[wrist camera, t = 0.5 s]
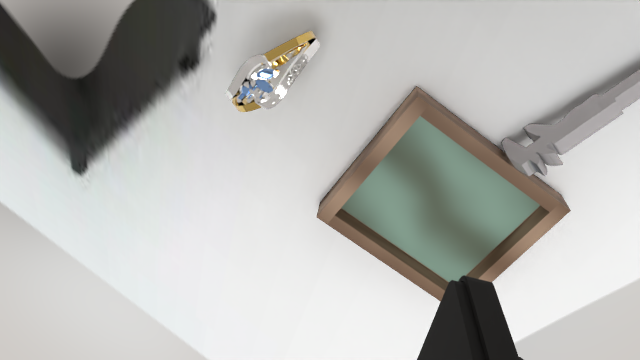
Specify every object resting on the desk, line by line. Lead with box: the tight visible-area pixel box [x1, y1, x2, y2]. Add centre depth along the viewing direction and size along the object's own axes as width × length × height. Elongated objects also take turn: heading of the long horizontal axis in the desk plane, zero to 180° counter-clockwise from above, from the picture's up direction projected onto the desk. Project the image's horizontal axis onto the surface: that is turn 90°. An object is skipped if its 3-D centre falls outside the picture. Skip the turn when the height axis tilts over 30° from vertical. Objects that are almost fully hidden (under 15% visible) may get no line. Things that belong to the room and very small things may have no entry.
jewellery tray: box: [317, 86, 571, 301], centre depth 43 cm, size 12×14×2 cm
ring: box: [225, 31, 320, 112], centre depth 37 cm, size 7×3×8 cm, turn 121°
